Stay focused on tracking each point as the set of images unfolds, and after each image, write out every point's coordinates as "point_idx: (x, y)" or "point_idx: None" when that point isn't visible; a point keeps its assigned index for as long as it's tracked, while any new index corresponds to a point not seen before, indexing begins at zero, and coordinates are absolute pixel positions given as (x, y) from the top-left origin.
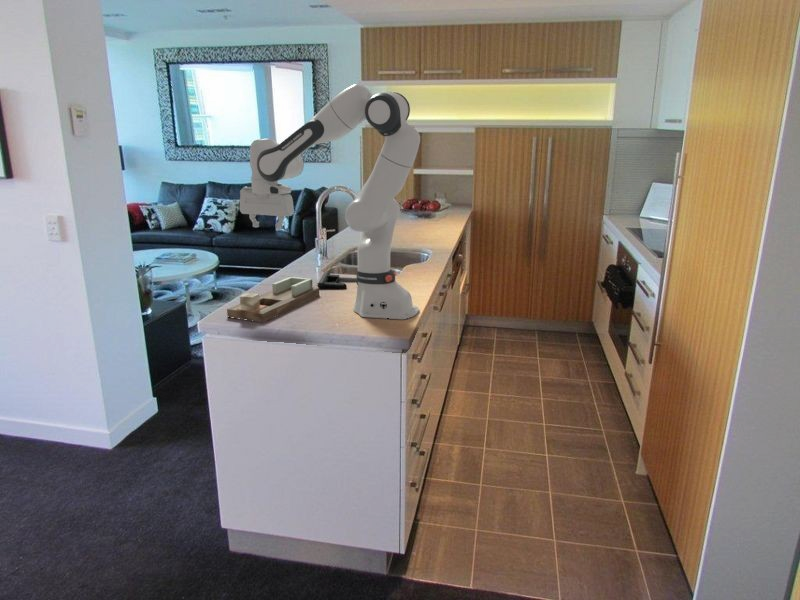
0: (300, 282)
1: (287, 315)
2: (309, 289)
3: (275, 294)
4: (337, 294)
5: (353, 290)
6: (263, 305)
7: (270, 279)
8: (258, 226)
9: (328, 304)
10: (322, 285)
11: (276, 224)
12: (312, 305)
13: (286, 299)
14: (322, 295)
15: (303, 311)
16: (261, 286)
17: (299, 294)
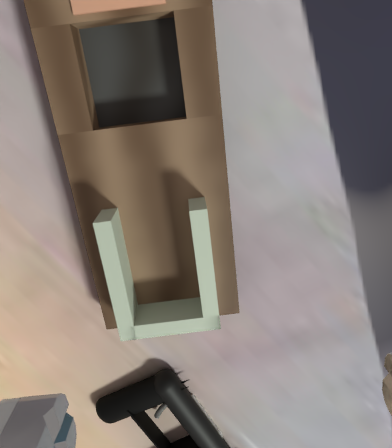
0: (119, 280)
1: (19, 63)
2: None
3: (180, 185)
4: (73, 348)
5: None
6: (89, 9)
7: None
8: (386, 392)
9: (9, 249)
10: (155, 379)
11: (13, 446)
12: (44, 214)
13: (90, 150)
14: None
15: (12, 138)
16: (361, 306)
17: None
